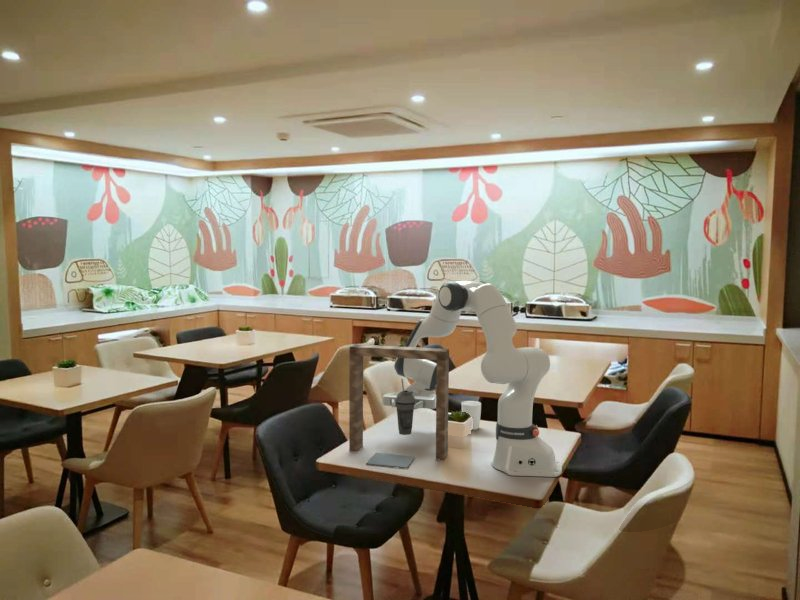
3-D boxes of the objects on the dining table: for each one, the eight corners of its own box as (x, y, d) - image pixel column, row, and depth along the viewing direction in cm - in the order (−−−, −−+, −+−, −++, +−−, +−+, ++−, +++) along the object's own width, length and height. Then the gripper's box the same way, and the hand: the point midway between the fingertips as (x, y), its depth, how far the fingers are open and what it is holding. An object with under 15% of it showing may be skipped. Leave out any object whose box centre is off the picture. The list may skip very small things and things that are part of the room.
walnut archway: (447, 454, 208) (449, 348, 205) (444, 460, 202) (445, 351, 199) (355, 445, 217) (355, 344, 214) (349, 450, 211) (349, 346, 208)
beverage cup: (413, 436, 213) (413, 381, 212) (393, 435, 215) (393, 380, 213) (416, 430, 220) (416, 377, 219) (397, 429, 222) (397, 376, 220)
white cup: (483, 426, 243) (483, 401, 242) (477, 431, 236) (477, 406, 235) (464, 423, 246) (464, 399, 245) (458, 428, 239) (458, 404, 238)
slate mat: (415, 457, 204) (415, 456, 204) (407, 468, 194) (407, 467, 193) (376, 454, 208) (376, 452, 208) (366, 464, 197) (366, 463, 197)
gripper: (387, 387, 232) (377, 395, 218) (439, 390, 226) (431, 399, 213) (387, 403, 232) (377, 412, 219) (439, 406, 227) (431, 416, 213)
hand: (404, 405), depth 216 cm, fingers closed on beverage cup, 7 cm apart
